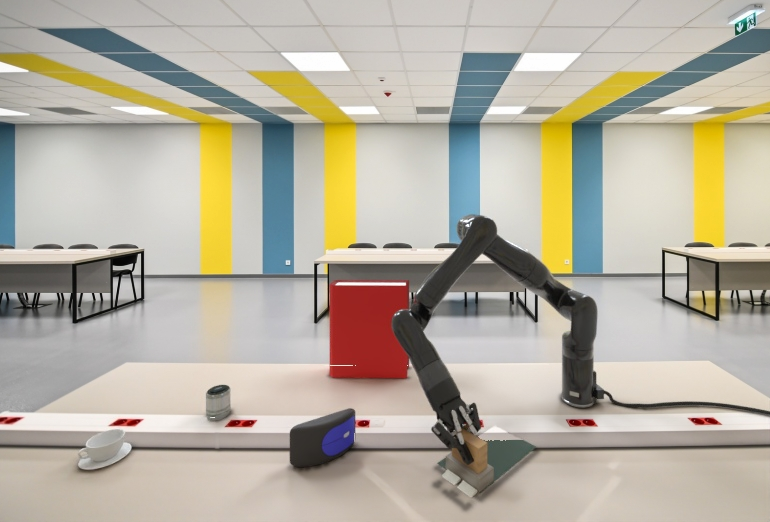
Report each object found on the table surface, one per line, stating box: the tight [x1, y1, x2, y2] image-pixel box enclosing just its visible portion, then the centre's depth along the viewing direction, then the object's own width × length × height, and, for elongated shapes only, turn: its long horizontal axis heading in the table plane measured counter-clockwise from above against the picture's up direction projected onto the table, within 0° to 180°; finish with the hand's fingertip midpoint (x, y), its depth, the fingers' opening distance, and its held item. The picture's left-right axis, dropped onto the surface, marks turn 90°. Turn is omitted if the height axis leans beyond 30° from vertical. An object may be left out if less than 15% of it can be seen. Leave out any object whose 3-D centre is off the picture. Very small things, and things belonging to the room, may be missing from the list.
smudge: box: [457, 480, 478, 499], centre depth 85 cm, size 4×4×1 cm
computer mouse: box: [289, 407, 356, 468], centre depth 97 cm, size 16×5×9 cm, turn 123°
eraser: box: [445, 428, 494, 494], centre depth 90 cm, size 10×5×8 cm, turn 44°
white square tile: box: [441, 469, 462, 486], centre depth 88 cm, size 4×4×1 cm
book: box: [328, 279, 410, 379], centre depth 142 cm, size 27×8×32 cm, turn 89°
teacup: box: [77, 428, 132, 470], centre depth 97 cm, size 10×10×5 cm
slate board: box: [436, 439, 537, 495], centre depth 97 cm, size 22×13×1 cm, turn 134°
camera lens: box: [205, 384, 232, 422], centre depth 115 cm, size 6×6×8 cm
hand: (476, 458), depth 88 cm, fingers closed on eraser, 3 cm apart
